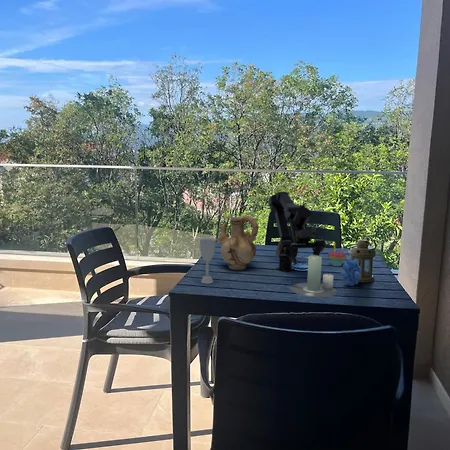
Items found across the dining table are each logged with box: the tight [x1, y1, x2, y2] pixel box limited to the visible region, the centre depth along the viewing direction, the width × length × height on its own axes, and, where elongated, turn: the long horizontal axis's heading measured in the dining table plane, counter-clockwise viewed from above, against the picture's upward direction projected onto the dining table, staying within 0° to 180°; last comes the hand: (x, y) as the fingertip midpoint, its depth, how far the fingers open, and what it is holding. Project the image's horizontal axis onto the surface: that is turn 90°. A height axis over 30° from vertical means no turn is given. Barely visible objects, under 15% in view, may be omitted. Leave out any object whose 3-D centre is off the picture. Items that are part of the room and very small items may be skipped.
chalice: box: [198, 236, 217, 284], centre depth 188 cm, size 7×7×18 cm
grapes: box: [340, 258, 362, 287], centre depth 184 cm, size 12×7×12 cm, turn 128°
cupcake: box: [327, 240, 347, 267], centre depth 220 cm, size 9×8×12 cm
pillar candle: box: [306, 254, 323, 291], centre depth 177 cm, size 5×5×14 cm
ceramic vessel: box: [215, 215, 259, 271], centre depth 210 cm, size 18×19×25 cm
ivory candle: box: [322, 273, 334, 289], centre depth 180 cm, size 4×4×6 cm
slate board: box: [289, 282, 338, 298], centre depth 178 cm, size 18×18×1 cm
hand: (306, 264), depth 184 cm, fingers open, 9 cm apart
